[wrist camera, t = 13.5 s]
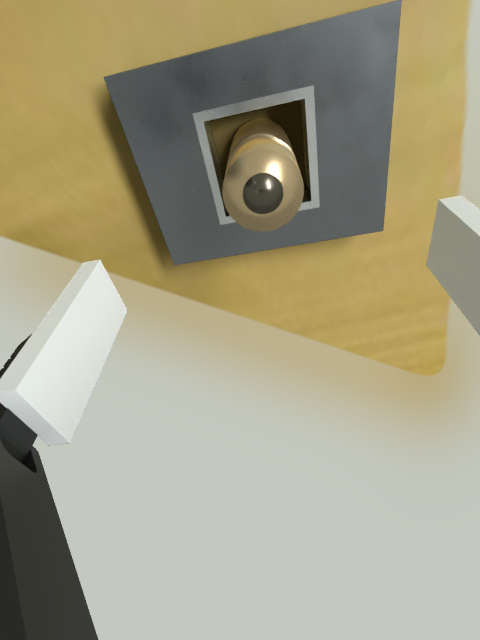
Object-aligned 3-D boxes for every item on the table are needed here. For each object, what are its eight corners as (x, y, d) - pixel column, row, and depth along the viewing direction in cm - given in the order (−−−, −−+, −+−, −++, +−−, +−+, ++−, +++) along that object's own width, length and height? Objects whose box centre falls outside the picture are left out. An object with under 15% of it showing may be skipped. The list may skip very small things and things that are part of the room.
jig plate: (118, 73, 24) (103, 77, 21) (385, 3, 21) (402, -1, 18) (179, 248, 32) (174, 265, 30) (373, 215, 30) (383, 231, 27)
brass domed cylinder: (224, 126, 26) (213, 159, 19) (287, 111, 25) (300, 141, 18) (237, 188, 29) (231, 238, 22) (293, 177, 28) (307, 225, 21)
